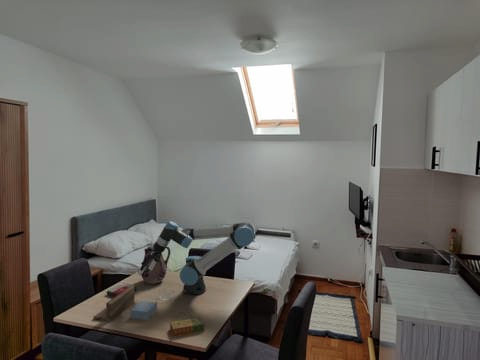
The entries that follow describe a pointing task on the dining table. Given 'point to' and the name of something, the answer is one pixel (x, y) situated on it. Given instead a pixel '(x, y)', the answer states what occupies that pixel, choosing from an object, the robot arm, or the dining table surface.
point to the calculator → (119, 289)
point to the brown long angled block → (117, 305)
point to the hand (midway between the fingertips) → (144, 271)
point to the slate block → (143, 310)
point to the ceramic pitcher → (155, 268)
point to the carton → (186, 326)
